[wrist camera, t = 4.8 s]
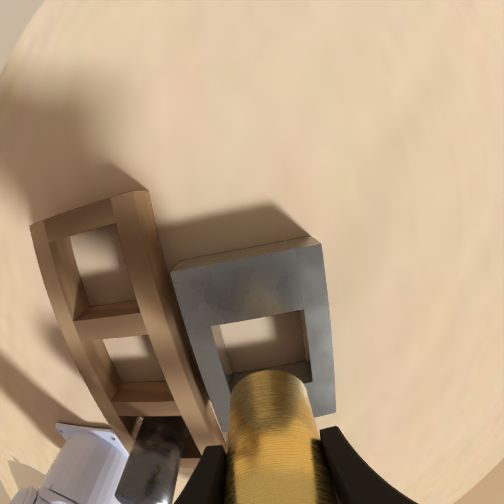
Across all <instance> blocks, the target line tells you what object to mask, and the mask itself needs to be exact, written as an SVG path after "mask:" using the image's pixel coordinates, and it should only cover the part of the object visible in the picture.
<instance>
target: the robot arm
mask: <svg viewBox="0 0 504 504" xmlns="http://www.w3.org/2000/svg"><path fill="white" fill-rule="evenodd" d="M55 427H56V429H57V430H58V431H59V433H60V434H61V436H62V437H63V438H64V440H65V441H66V442H65V444H64V445H63V447H62V449H61V450H60V452H59V454H58V455H57V457H56V459H55V460H54V462H53V464H52V465H51V467H50V469H49V471H48V472H47V474H46V476H45V478H44V479H43V481H42V483H41V485H40V487H39V488H37V489H35V488H34V487H32V486H23V487H22V488H21V489H20V490H19V491H18V492H17V494H16V495H15V496H14V498H13V499H12V501H11V503H10V504H121V503H120V502H119V501H118V500H117V499H116V498H115V492H116V489H117V486H118V483H119V481H120V478H121V475H122V473H123V470H124V467H125V465H126V462H127V460H128V457H129V453H128V452H127V450H126V449H125V447H124V446H123V445H122V443H121V442H120V440H119V439H118V437H117V436H116V434H115V433H114V431H113V430H111V429H101V428H91V427H83V426H75V425H68V424H62V423H56V425H55ZM320 441H321V445H322V448H323V452H324V456H325V459H326V462H327V466H328V470H329V473H330V477H331V481H332V484H333V488H334V492H335V496H336V499H337V503H338V504H418V503H416V502H414V501H413V500H411V499H409V498H408V497H406V496H405V495H403V494H402V493H400V492H399V491H398V490H396V489H395V488H394V487H392V486H391V485H390V484H388V483H387V482H386V481H385V480H384V479H382V478H381V477H380V476H379V475H378V474H377V473H376V472H375V471H374V470H373V469H372V468H371V467H370V466H369V465H368V464H367V463H366V462H365V461H364V460H363V459H362V458H361V457H360V456H359V455H358V453H357V452H356V451H355V450H354V449H353V447H352V446H351V445H350V444H349V442H348V441H347V440H346V438H345V437H344V435H343V434H342V432H341V431H340V429H339V427H337V426H334V427H330V428H326V429H321V430H320ZM226 460H227V454H226V452H225V449H224V447H223V445H213V446H206V447H205V449H204V451H203V454H202V456H201V458H200V460H199V462H198V464H197V466H196V468H195V470H194V472H193V474H192V476H191V477H190V479H189V481H188V482H187V484H186V486H185V488H184V489H183V491H182V492H181V494H180V495H179V497H178V498H177V500H176V501H175V503H174V504H224V495H225V477H226Z"/></svg>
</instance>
